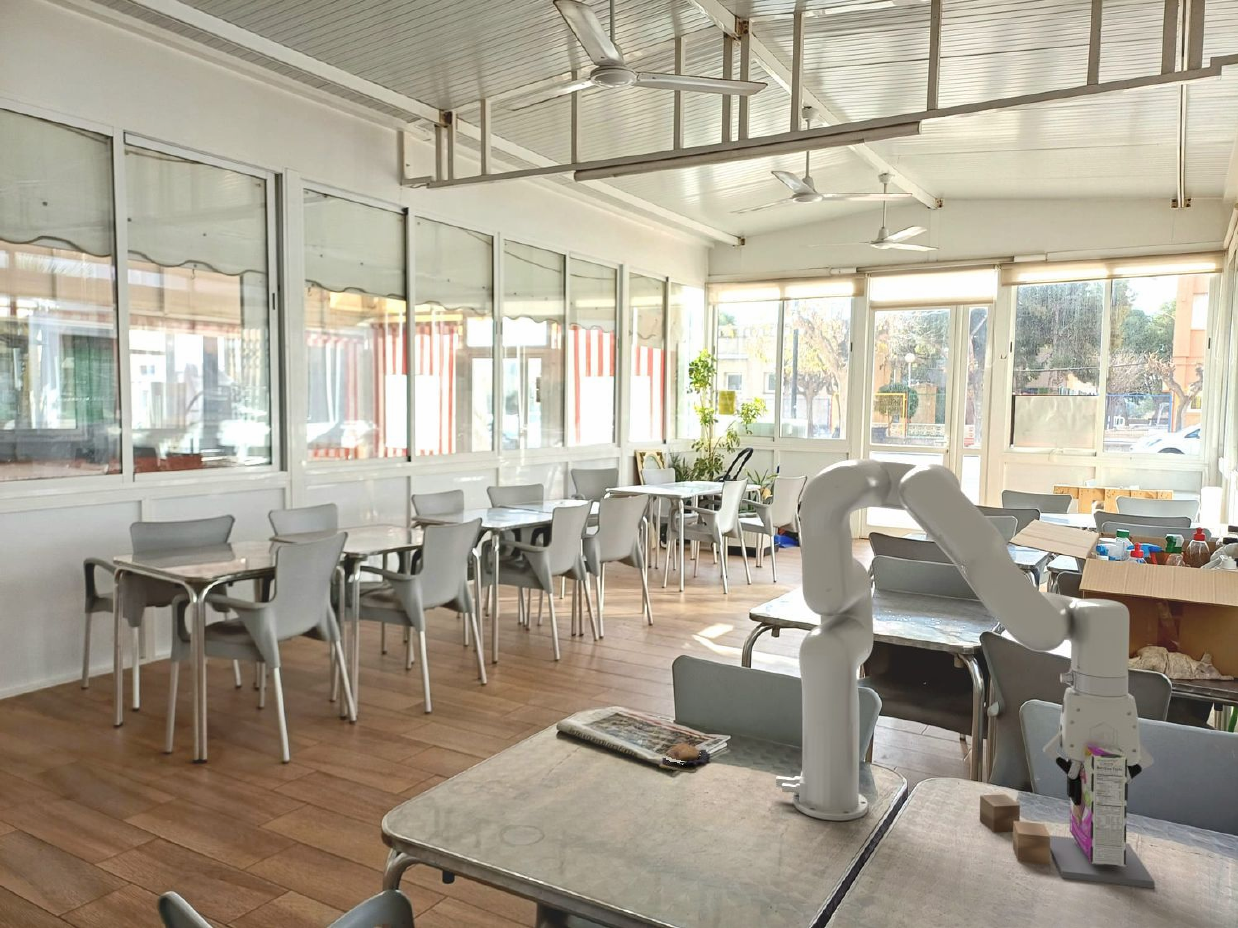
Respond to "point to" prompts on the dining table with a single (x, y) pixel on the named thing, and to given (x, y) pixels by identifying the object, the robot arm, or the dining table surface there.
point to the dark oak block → (999, 812)
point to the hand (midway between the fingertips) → (1096, 802)
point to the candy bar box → (1102, 807)
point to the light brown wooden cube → (1031, 842)
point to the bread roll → (686, 758)
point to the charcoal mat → (1079, 867)
